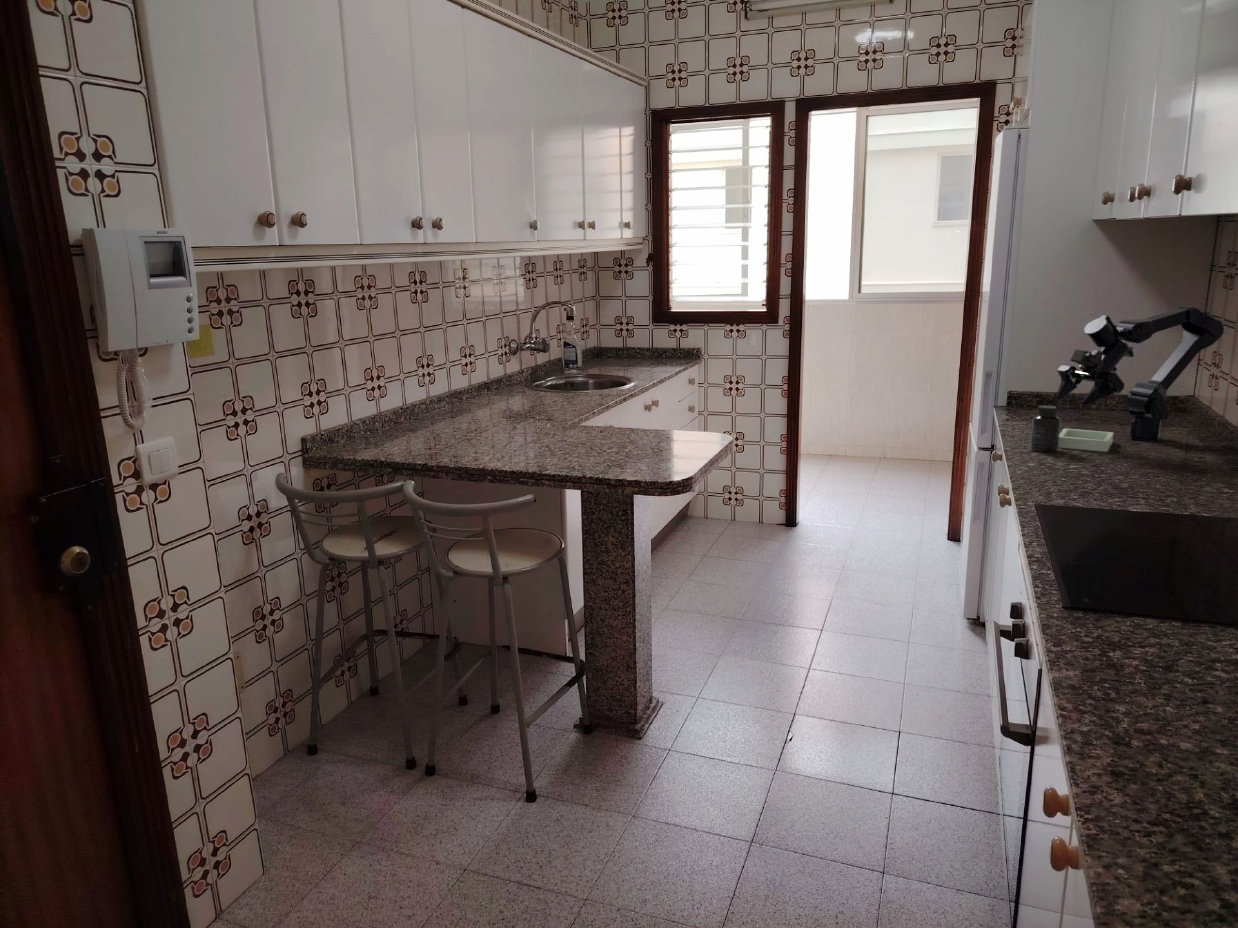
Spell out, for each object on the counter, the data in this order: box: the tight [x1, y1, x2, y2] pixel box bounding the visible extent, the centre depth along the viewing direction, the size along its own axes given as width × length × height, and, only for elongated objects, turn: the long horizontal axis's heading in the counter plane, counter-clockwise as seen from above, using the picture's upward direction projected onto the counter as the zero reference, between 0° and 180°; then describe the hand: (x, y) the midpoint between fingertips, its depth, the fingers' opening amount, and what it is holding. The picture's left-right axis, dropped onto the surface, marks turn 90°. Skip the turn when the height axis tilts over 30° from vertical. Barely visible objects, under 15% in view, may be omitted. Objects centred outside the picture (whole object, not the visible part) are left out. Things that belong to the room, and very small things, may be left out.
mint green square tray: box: [1058, 427, 1114, 453], centre depth 235 cm, size 12×12×3 cm
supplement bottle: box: [1029, 405, 1061, 453], centre depth 230 cm, size 7×7×12 cm
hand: (1069, 401), depth 230 cm, fingers open, 9 cm apart
